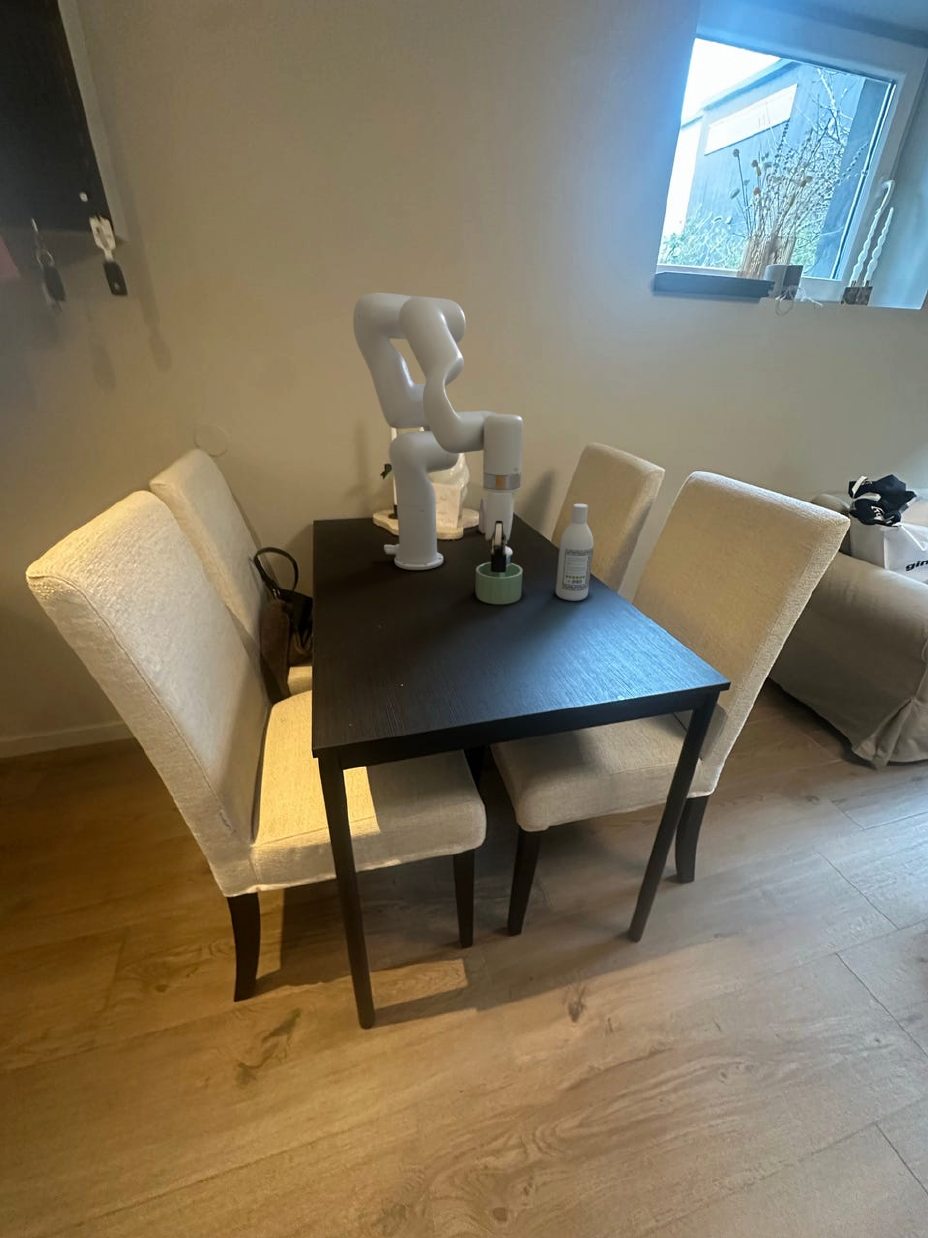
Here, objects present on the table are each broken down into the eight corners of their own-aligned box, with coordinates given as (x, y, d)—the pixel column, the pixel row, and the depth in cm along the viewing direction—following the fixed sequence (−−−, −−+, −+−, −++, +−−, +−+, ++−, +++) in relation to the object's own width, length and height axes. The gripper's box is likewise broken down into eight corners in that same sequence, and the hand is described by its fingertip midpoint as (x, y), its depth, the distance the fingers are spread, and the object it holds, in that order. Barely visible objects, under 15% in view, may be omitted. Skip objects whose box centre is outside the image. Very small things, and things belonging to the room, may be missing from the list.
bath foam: (593, 598, 108) (605, 507, 99) (565, 603, 106) (574, 510, 97) (576, 587, 114) (586, 499, 105) (549, 591, 112) (557, 502, 103)
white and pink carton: (478, 530, 154) (479, 497, 149) (498, 528, 156) (499, 496, 151) (482, 533, 151) (483, 500, 146) (503, 531, 153) (504, 498, 148)
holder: (473, 603, 106) (473, 576, 104) (478, 584, 115) (478, 560, 112) (520, 605, 105) (521, 579, 102) (521, 587, 114) (523, 562, 111)
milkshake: (485, 583, 111) (486, 540, 106) (509, 582, 111) (510, 539, 107) (488, 591, 107) (488, 547, 102) (512, 590, 107) (514, 546, 103)
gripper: (487, 472, 107) (485, 553, 115) (478, 490, 92) (477, 581, 100) (522, 473, 106) (518, 555, 114) (519, 491, 91) (514, 583, 99)
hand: (499, 566), depth 107 cm, fingers closed on milkshake, 4 cm apart
